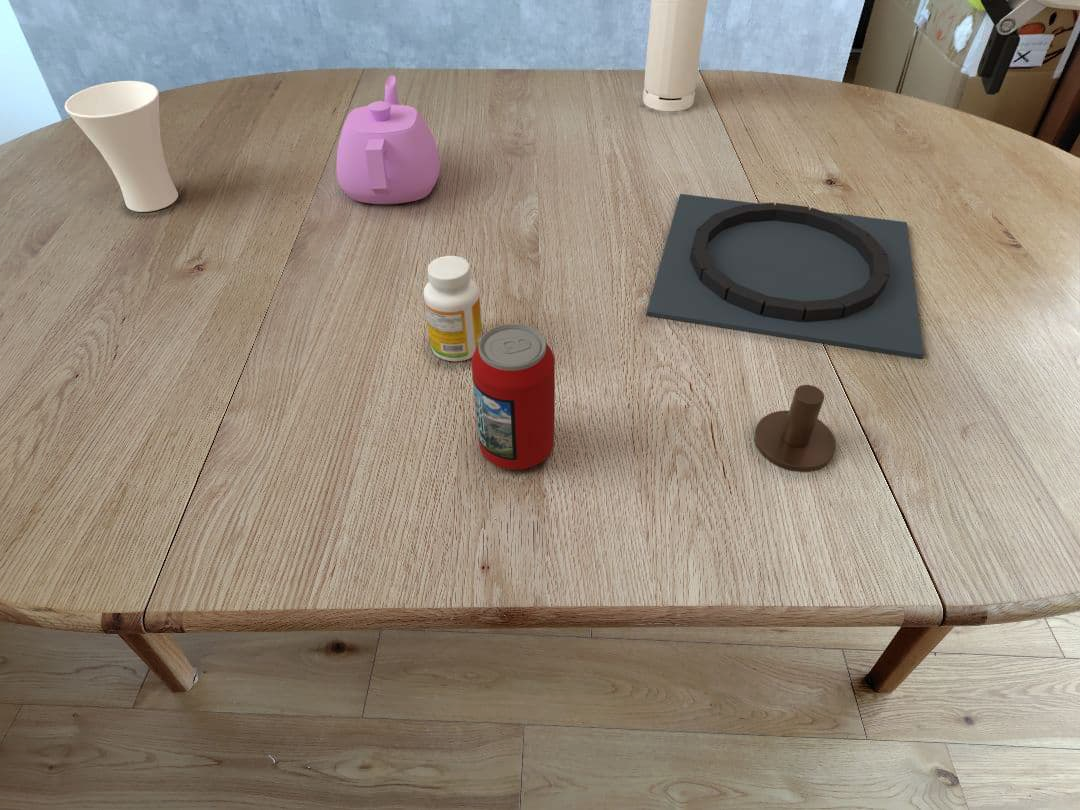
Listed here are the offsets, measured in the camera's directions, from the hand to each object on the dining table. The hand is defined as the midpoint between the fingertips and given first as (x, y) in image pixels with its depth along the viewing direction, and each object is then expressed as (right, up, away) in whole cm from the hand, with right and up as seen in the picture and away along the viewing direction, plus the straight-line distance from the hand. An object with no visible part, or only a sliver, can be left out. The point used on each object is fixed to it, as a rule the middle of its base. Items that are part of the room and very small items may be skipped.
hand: (1061, 94), depth 55 cm
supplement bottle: (-46, -16, +25) cm, 54 cm away
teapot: (-57, +8, +49) cm, 76 cm away
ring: (-9, -6, +34) cm, 35 cm away
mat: (-9, -6, +34) cm, 36 cm away
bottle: (-17, +26, +68) cm, 75 cm away
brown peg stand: (-14, -25, +15) cm, 33 cm away
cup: (-88, +5, +47) cm, 100 cm away
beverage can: (-39, -26, +15) cm, 49 cm away
